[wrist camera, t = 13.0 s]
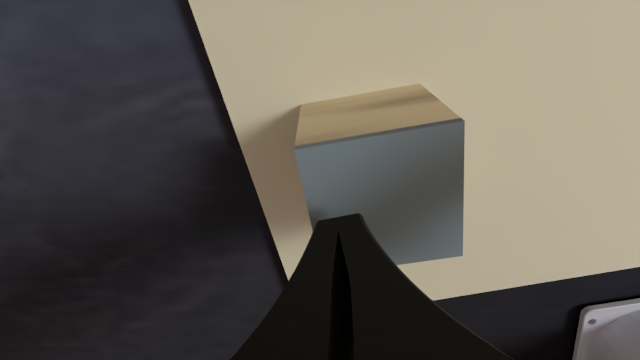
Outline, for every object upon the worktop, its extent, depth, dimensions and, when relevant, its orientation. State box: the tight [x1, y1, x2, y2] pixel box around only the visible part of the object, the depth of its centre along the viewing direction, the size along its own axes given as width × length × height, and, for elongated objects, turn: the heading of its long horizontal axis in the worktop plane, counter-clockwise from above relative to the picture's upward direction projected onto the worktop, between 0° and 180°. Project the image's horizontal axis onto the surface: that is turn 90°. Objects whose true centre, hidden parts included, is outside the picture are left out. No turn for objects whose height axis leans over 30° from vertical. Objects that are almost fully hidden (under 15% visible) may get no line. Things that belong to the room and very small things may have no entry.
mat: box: [188, 0, 640, 300], centre depth 16 cm, size 18×22×1 cm
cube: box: [294, 83, 465, 265], centre depth 14 cm, size 5×5×5 cm
